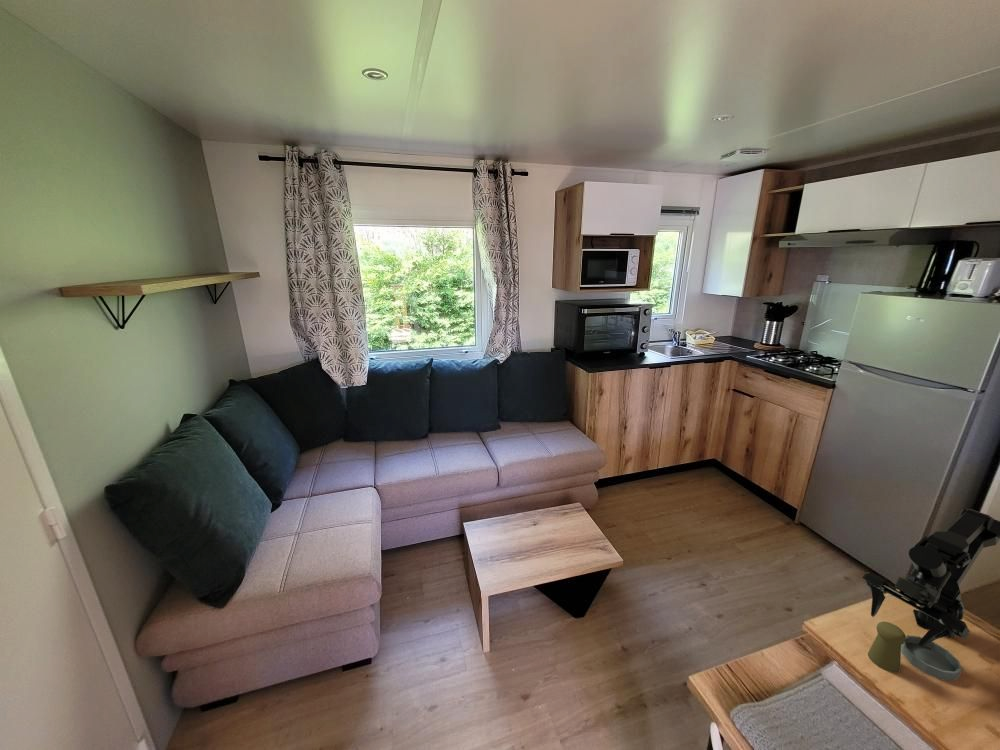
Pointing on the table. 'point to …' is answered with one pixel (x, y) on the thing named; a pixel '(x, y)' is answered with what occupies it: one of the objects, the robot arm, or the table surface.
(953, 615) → the robot arm
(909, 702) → the table surface
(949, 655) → the gray bowl
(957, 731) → the table surface
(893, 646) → the cork
